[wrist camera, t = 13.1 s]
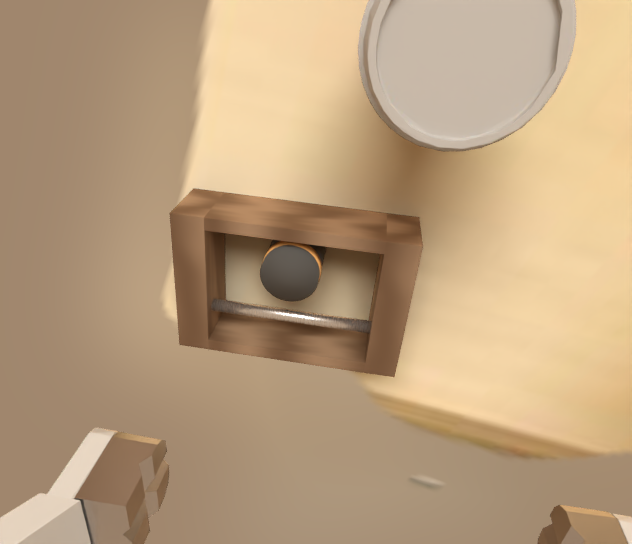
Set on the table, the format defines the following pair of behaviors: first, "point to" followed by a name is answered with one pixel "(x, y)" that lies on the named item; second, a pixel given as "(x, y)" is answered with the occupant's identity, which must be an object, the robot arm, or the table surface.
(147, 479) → the robot arm
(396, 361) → the brown wooden frame
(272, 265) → the orange-banded dark cylinder
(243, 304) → the metal rod
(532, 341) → the table surface
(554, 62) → the disposable coffee cup
